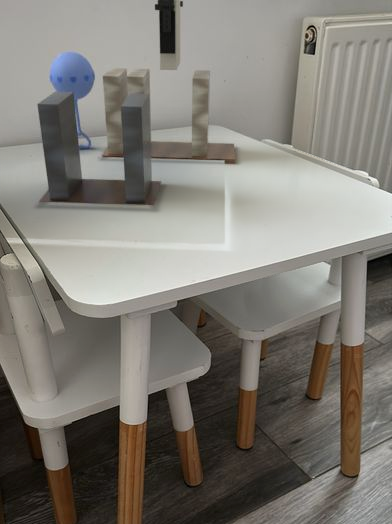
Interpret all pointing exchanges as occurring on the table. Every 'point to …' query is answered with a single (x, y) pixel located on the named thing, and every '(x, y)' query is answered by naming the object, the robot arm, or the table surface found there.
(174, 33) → the robot arm
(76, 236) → the table surface
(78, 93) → the baby rattle
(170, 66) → the white book
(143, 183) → the grey rack
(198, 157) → the beige marbled rack
